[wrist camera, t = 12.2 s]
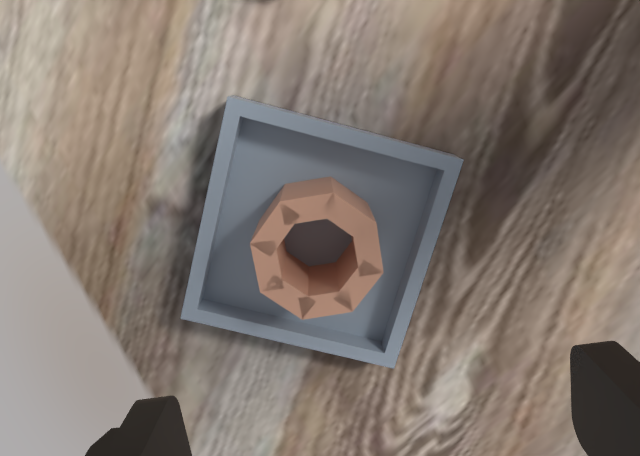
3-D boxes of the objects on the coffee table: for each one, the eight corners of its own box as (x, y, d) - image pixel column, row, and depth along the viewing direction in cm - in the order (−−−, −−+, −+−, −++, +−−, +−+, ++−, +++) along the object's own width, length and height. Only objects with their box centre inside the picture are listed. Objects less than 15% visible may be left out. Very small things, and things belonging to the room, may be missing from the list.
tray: (453, 154, 30) (463, 159, 28) (389, 351, 33) (394, 368, 31) (233, 95, 29) (227, 96, 27) (188, 303, 32) (180, 318, 30)
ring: (363, 171, 30) (371, 186, 25) (378, 275, 31) (388, 306, 27) (252, 189, 30) (242, 207, 26) (273, 291, 32) (266, 325, 27)
